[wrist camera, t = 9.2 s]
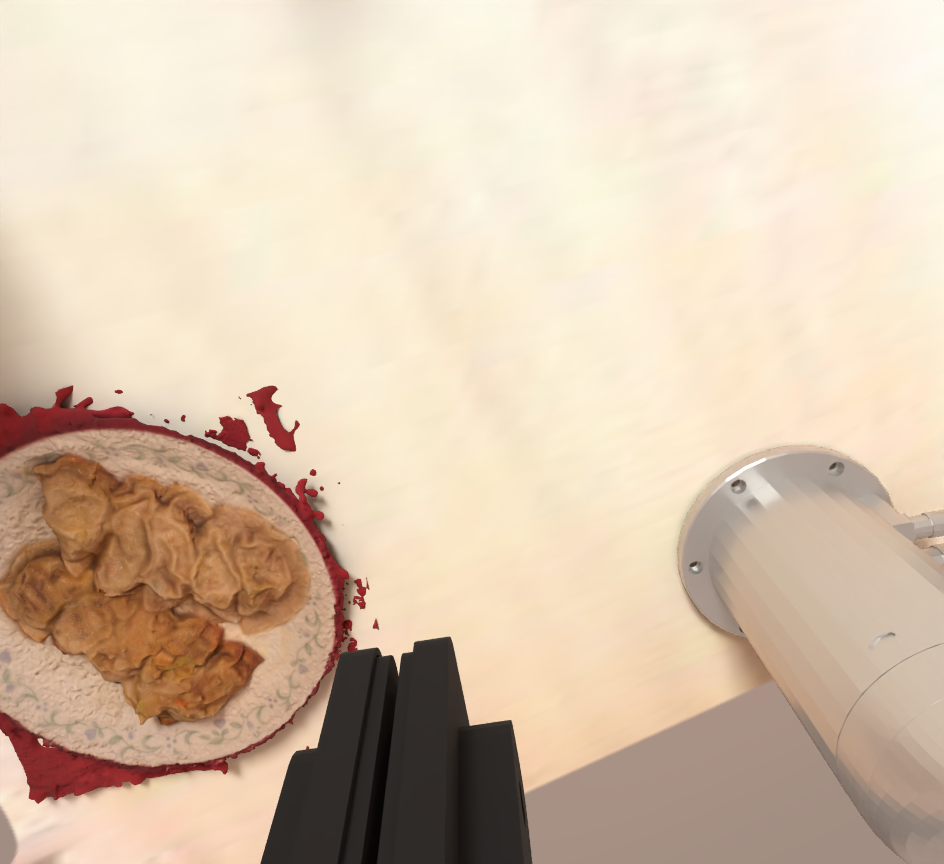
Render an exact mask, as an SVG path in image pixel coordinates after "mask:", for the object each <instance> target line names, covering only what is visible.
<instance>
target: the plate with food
mask: <svg viewBox="0 0 944 864" xmlns="http://www.w3.org/2000/svg"><path fill="white" fill-rule="evenodd" d="M277 390H278V389H277V387H276V386H267V387H263V388H261V389H260V390H258V391H255V392H252V393H249V394H247V395H246V396H247V397H251V398H252V400H253V404H254V405H255V409H256V412H257V414H261V416H262V417H264V423H265V424H266V425H267V430H268V432H269V433H270V434H269V436H270V437H272V438H274V439H275V443H276V445H277V446H279V447H280V448H282V449H285V450H290V451H296V445H295V441H294V436H293V435H294V432H295V430H296V429H297V428H298V427H299V425H300V424H299V422H298V421H297V420H296V421H295V427H294V429H293V430H292V431H291V432H289V433H288V432H287V431H286V430H285V429H284V428H283V427H282V426H281V424H280V422H279V420H278V417H277V415H276V411H277V408H278V407H281V406H282V405H278V404H275V403H273V402H272V400H271V398H272V395H273V394H274V393H275V392H276V391H277ZM72 391H73V386H70V387H66V388H63V389H60V390H58V391H57V392H56V396H57V399H56V403H55V404H54V405H53V407H52V408H51V409H44V408H40V407H34V408H31V410H30V413H29V414H28V415H26V416H24V417H21V416H19V415H17V413H16V411H15V410H14V409H13V408H11V407H9V406H8V405H6V404H0V729H1V730H2V732H3V733H4V734H5V735H6V736H9V739H10V741H11V743H12V744H13V747H14V749H15V752H16V753H17V756H18V757H19V760H20V762H21V764H22V765H23V767H24V770H25V773H26V776H27V784H28V785H29V786H30V792H29V799H31V800H35V801H36V803H38V804H39V803H40V802H42V801H43V800H44V799H45V798H46V797H49V796H51V797H54V799H55V800H57V799H58V798H60V797H64V796H66V795H67V794H71V793H73V792H74V795H75V796H79V795H82V794H84V793H86V792H89V791H92V790H94V789H97V788H100V787H111V786H113V785H114V786H117V787H121V786H122V782H124V781H129V782H131V783H132V784H133V785H138V784H140V783H141V782H143V781H144V780H145V779H146V778H154V777H157V776H159V777H160V776H163V775H168V774H175V773H181V772H188V771H194V770H202V771H205V770H210V769H213V770H221V771H222V772H223V774H226V773H227V770H228V764H227V763H226V762H225V760H226V757H227V758H229V757H231V758H234V759H235V758H237V755H238V754H240V753H245V752H250V751H251V750H254V749H255V747H256V746H259V745H262V744H263V743H266V741H267V740H268V739H272V738H273V737H274V736H275V733H277V732H278V731H280V730H281V729H284V728H285V724H286V723H288V722H289V723H291V724H293V722H292V719H293V718H294V715H295V711H297V710H298V709H299V708H300V707H304V706H305V705H306V704H307V701H308V699H309V698H311V696H313V695H315V694H316V693H317V691H318V688H319V684H320V680H321V679H323V677H324V676H325V675H326V674H327V673H329V672H330V671H331V670H332V667H334V666H335V664H334V660H338V658H339V657H340V654H339V653H338V647H339V648H340V647H341V641H342V642H344V641H345V639H347V637H345V638H343V634H344V630H343V629H346V631H345V634H346V635H348V636H349V634H348V632H347V629H350V631H352V629H351V626H352V622H351V620H345V621H344V616H343V614H342V612H341V610H346V609H343V599H344V596H343V592H342V588H343V585H344V580H345V579H349V574H348V572H347V571H346V570H344V569H342V568H341V567H340V566H339V565H338V564H337V563H336V561H335V560H334V558H333V556H332V555H331V554H330V552H329V550H328V548H327V545H326V539H325V536H324V535H323V534H321V533H320V532H319V531H318V529H317V528H316V526H315V524H314V522H313V517H316V518H317V519H318V520H322V519H323V518H324V514H323V513H322V512H320V511H314V510H312V508H311V506H310V505H309V504H308V503H307V498H306V496H305V495H304V493H307V494H308V495H310V496H312V497H316V496H317V495H318V492H317V491H316V490H314V489H308V490H306V489H305V485H306V483H307V479H301V480H299V482H298V484H297V486H296V490H295V491H296V493H297V494H298V495H299V499H300V500H298V499H297V498H296V496H295V495H294V494H293V493H292V491H291V489H290V488H285V485H284V484H282V483H281V482H277V480H276V478H275V477H276V476H277V474H274V475H273V476H270V475H269V474H268V473H267V471H266V470H265V468H264V465H265V463H264V462H258V463H257V464H256V465H253V464H252V463H251V462H249V461H246V460H244V459H243V458H242V457H240V456H238V455H237V454H236V453H235V452H230V451H228V450H225V449H223V448H221V447H220V446H218V445H216V444H213V443H209V442H207V441H205V440H203V439H200V438H197V437H194V436H193V435H189V436H184V435H182V434H180V433H178V432H177V431H174V430H169V429H167V428H165V427H162V426H153V425H146V424H143V423H141V422H139V421H138V420H137V419H134V418H129V417H130V416H132V415H134V413H133V412H130V411H128V410H127V409H125V408H122V407H119V406H117V407H112V408H109V409H106V410H101V411H95V410H87V409H85V407H86V406H88V405H90V404H92V403H93V399H92V398H91V397H88V398H86V399H85V400H83V401H82V402H80V403H79V404H77V405H74V407H75V408H69V409H63V408H60V404H61V402H62V401H63V400H65V399H66V398H67V397H69V395H70V394H71V393H72ZM115 393H118V394H121V393H123V391H121V390H115ZM239 398H240V397H239ZM240 399H241V398H240ZM251 405H252V404H251ZM151 415H152V414H151ZM219 419H220V424H221V425H222V426H223V430H222V432H221V433H220V434H219V435H218V436H217V435H216V434H215V433H217V431H216V430H211V429H210V430H209V432H206V431H205V437H211V438H213V439H216V440H219V441H222V443H224V444H226V445H227V446H231V447H235V448H237V449H238V450H243V451H246V448H247V446H246V441H248V440H250V441H252V439H249V438H250V436H249V434H248V432H247V427H246V425H245V424H244V421H243V420H238V419H236V418H234V419H235V420H234V421H233V420H232V418H231V417H229V416H226V417H222V418H221V417H219ZM164 421H165V422H167V423H169V421H168V420H167V419H165V420H164ZM181 421H185V415H183V416H182V417H181ZM247 452H248V453H249V454H250V455H252V456H257V458H258V459H259V458H260V457H259V456H258V454H259V455H260V452H259V451H258V450H256V449H253V448H248V450H247ZM310 475H313V476H315V475H316V470H314V469H312V470H311V471H310ZM338 484H340V482H339V483H338ZM320 490H321V491H323V490H324V488H323V487H322V486H321V487H320ZM366 580H367V578H366ZM354 582H355V583H356V584H357V586H358V587H359V589H357V592H358V593H359V595H360V596H361V597H359V596H354V599H353V602H354V604H353V605H355V603H357V601H356V600H355V599H360V600H359V603H358V605H359V606H360V609H364V608H365V604H366V603H365V601H364V598H363V596H364V595H365V594H366V588H368V589H369V587H368V582H367V587H362V582H361V579H357V580H355V581H354ZM346 584H347V585H348V583H346ZM344 589H345V588H343V590H344ZM345 596H347V595H345ZM346 600H347V599H346ZM360 601H362V602H360ZM348 603H349V604H350V601H349V602H348ZM343 621H344V622H343ZM342 626H343V627H342ZM373 628H374V629H375V628H377V629H378V625H377V621H376V620H375V623H374V625H373ZM378 630H379V629H378ZM350 641H354V642H351V643H349V646H348V652H350V651H357V648H355V646H357V641H356V640H355V639H354V638H350ZM339 652H341V650H339ZM37 738H42V739H43V746H45V747H43V746H41V745H40V743H39V742H38V740H37ZM49 746H51V747H55V748H46V747H49ZM307 749H309V747H308V746H307V747H306V750H307ZM70 753H71V754H70ZM72 754H74V755H76V756H77V757H75V756H74V755H72Z"/></svg>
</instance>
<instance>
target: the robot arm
mask: <svg viewBox="0 0 944 864" xmlns="http://www.w3.org/2000/svg"><path fill="white" fill-rule="evenodd" d="M734 481H736V482H735V483H733V482H734ZM732 483H733V484H732ZM939 536H944V510H939V511H934V512H928V513H923V514H921V515H918V516H912V517H908V516H907V515H906V514H901V513H899V512H898V511H897V510H895V509H894V507H893V504H892V502H891V499H890V497H889V494H888V492H887V491H886V489H885V488H884V487H883V485H882V484H881V482H880V481H879V480H878V478H877V477H875V476H874V475H873V474H872V473H871V472H870V471H869V470H867V469H866V468H865V467H864V466H862V465H861V464H859V463H858V462H856V461H855V460H853V459H852V458H850V457H849V456H846V455H844V454H841V453H839V452H837V451H834V450H832V449H827V448H822V447H816V446H785V447H780V448H774V449H769V450H766V451H763V452H760V453H758V454H755V455H752V456H749V457H747V458H745V459H744V460H742V461H740V462H738V463H736V464H735V465H733V466H731V467H729V468H728V469H727V470H725V471H724V472H723V473H722V474H720V475H719V476H718V477H717V478H715V479H714V480H713V481H712V482H711V483H710V484H709V485H708V486H707V487H706V488H705V490H704V491H703V492H702V493H701V494H700V495H699V496H698V498H697V499H696V501H695V503H694V504H693V506H692V507H691V509H690V511H689V512H688V514H687V517H686V519H685V522H684V524H683V527H682V529H681V533H680V538H679V544H678V568H679V571H680V575H681V579H682V583H683V585H684V586H685V588H686V590H687V592H688V594H689V596H690V598H691V600H692V601H693V602H694V604H695V605H696V607H697V608H698V610H699V611H700V612H701V613H702V614H703V615H704V616H705V617H706V618H707V619H708V620H710V621H711V622H712V623H713V624H715V625H716V626H718V627H720V628H722V629H723V630H725V631H727V632H729V633H732V634H734V635H737V636H740V637H743V638H747V639H748V640H749V642H750V643H751V645H752V647H753V648H754V650H755V651H756V653H757V654H758V656H759V658H760V659H761V661H762V662H763V664H764V665H765V667H766V668H767V670H768V672H769V673H770V675H771V676H772V678H773V679H774V681H775V682H776V684H777V686H778V687H779V689H780V690H781V692H782V693H783V695H784V697H785V698H786V700H787V701H788V703H789V704H790V706H791V707H792V709H793V711H794V712H795V714H796V715H797V717H798V718H799V720H800V721H801V723H802V725H803V726H804V728H805V729H806V731H807V732H808V734H809V736H810V737H811V739H812V740H813V742H814V743H815V745H816V746H817V748H818V750H819V751H820V752H821V754H822V756H823V757H824V759H825V760H826V762H827V764H828V765H829V767H830V768H831V770H832V771H833V773H834V775H835V776H836V778H837V779H838V781H839V782H840V784H841V786H842V787H843V789H844V790H845V792H846V793H847V795H848V796H849V798H850V799H851V801H852V802H853V804H854V805H855V807H856V808H857V810H858V811H859V813H860V814H861V816H862V817H863V818H864V820H865V821H866V822H867V824H868V825H869V827H870V828H871V829H872V830H873V832H874V833H875V834H876V835H877V836H878V837H879V838H880V839H881V840H882V841H883V843H884V844H885V845H886V846H887V847H889V848H890V849H891V850H892V851H893V852H894V853H895V854H897V855H898V856H899V857H900V858H902V859H903V860H904V861H905V862H907V863H908V864H944V544H939V545H933V546H930V547H928V548H925V549H921V548H919V547H918V546H917V545H916V544H914V542H915V540H916V539H920V538H926V537H928V538H933V537H939ZM261 864H532V857H531V848H530V838H529V829H528V820H527V812H526V805H525V796H524V789H523V782H522V776H521V769H520V763H519V758H518V752H517V746H516V741H515V735H514V730H513V725H512V721H511V720H507V721H500V722H493V723H487V724H480V725H473V726H470V725H469V720H468V715H467V710H466V705H465V701H464V696H463V691H462V686H461V681H460V676H459V672H458V667H457V662H456V657H455V652H454V647H453V643H452V640H451V637H444V638H437V639H430V640H424V641H417V642H415V643H414V648H413V652H409V653H403V654H402V656H401V663H400V672H399V675H398V671H397V667H396V663H395V660H394V657H393V656H392V655H389V656H383V657H382V655H381V652H380V650H379V648H370V649H364V650H357V651H350V652H344V653H342V654H341V655H340V658H339V662H338V666H337V670H336V674H335V678H334V682H333V686H332V690H331V694H330V698H329V702H328V706H327V710H326V714H325V718H324V723H323V727H322V731H321V735H320V739H319V743H318V747H317V748H314V749H307V750H301V751H296V752H295V753H294V755H293V756H292V758H291V761H290V763H289V766H288V769H287V773H286V776H285V780H284V783H283V787H282V790H281V794H280V797H279V801H278V804H277V808H276V811H275V815H274V818H273V822H272V825H271V829H270V832H269V836H268V839H267V843H266V846H265V850H264V853H263V857H262V860H261Z"/></svg>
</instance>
